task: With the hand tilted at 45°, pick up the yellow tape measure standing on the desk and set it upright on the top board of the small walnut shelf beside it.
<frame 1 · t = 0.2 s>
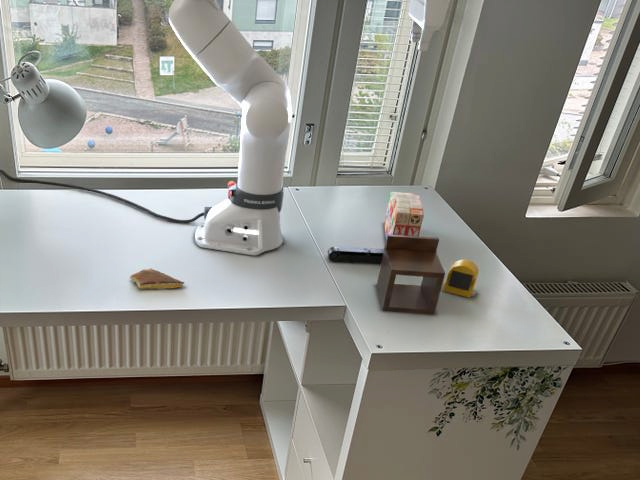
hand: (418, 46, 148), 48 cm above the table, tool pointing down, fingers open, 8 cm apart
tape measure: (458, 291, 158), on the table
stack of blocks: (397, 242, 179), on the table
tablet stand: (363, 261, 170), on the table
shelf: (404, 299, 154), on the table
shard: (156, 282, 159), on the table
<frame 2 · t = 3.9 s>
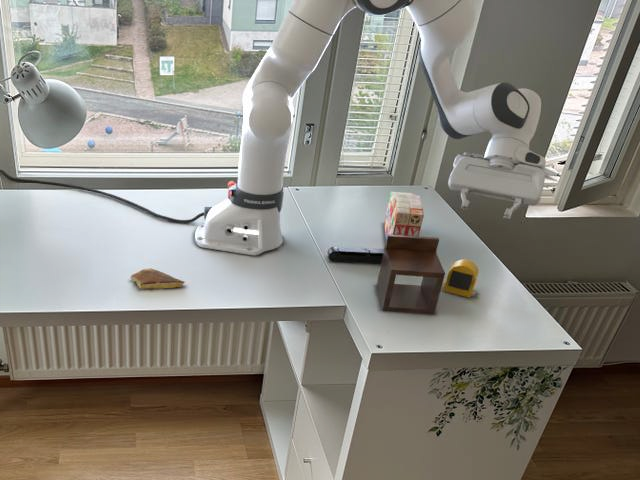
hand: (485, 212, 159), 15 cm above the table, tool tilted 45°, fingers open, 8 cm apart
nothing on the table moved.
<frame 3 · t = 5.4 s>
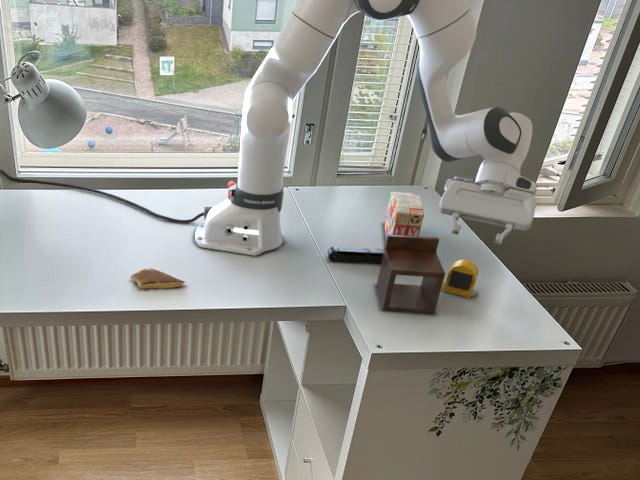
hand: (476, 237, 157), 10 cm above the table, tool tilted 45°, fingers open, 8 cm apart
nothing on the table moved.
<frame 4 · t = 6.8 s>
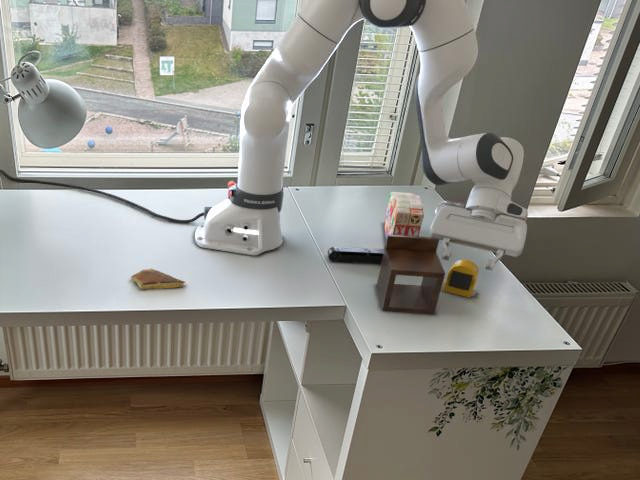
hand: (466, 263, 156), 6 cm above the table, tool tilted 45°, fingers open, 8 cm apart
nothing on the table moved.
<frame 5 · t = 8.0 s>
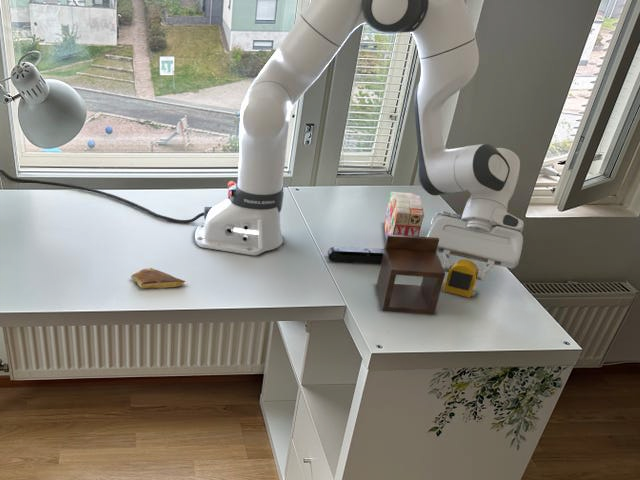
hand: (462, 275, 155), 4 cm above the table, tool tilted 45°, fingers closed on tape measure, 6 cm apart
tape measure: (458, 291, 158), on the table, touching gripper
everything else where it was.
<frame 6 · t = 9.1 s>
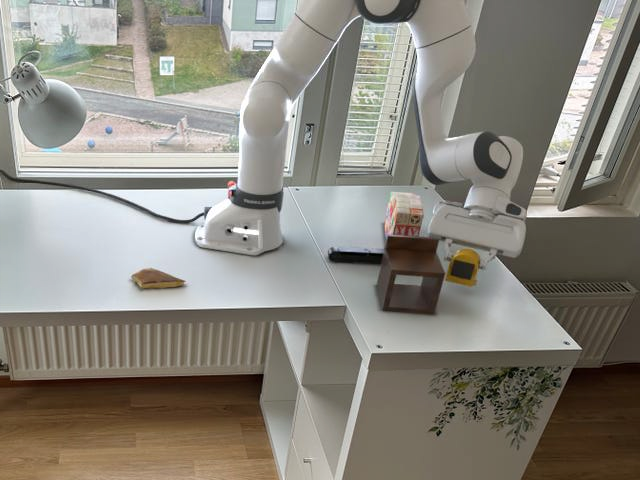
hand: (464, 264, 154), 7 cm above the table, tool tilted 45°, fingers closed on tape measure, 6 cm apart
tape measure: (459, 280, 157), point 3 cm above the table, touching gripper
everything else where it was.
when the fingers open (14 cm above the table, at t = 15.4 s): tape measure stays where it is, resting on shelf.
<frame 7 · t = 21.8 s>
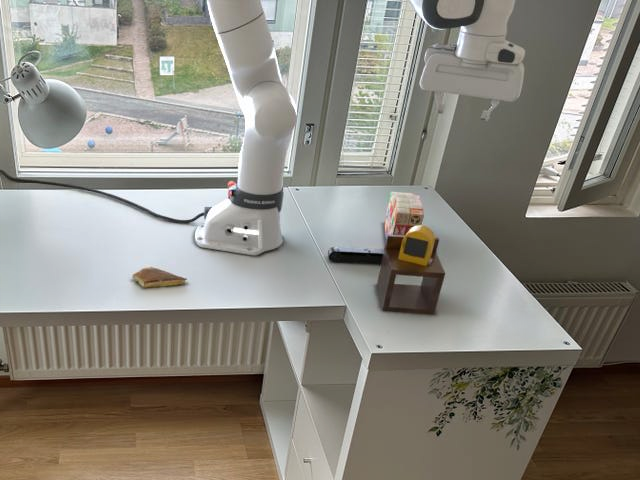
hand: (461, 116, 150), 35 cm above the table, tool pointing down, fingers open, 8 cm apart
tape measure: (414, 259, 149), point 10 cm above the table, touching shelf
at the end: tape measure inside the target area on the shelf (0.6 cm from its centre), point 10.0 cm above the shelf's base; tape measure tilted 0°; the gripper is holding nothing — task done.
